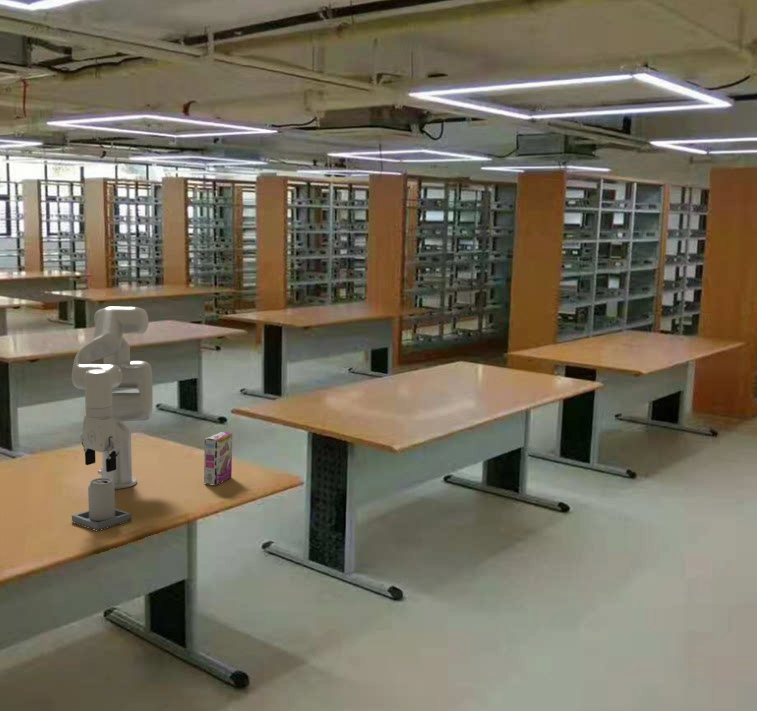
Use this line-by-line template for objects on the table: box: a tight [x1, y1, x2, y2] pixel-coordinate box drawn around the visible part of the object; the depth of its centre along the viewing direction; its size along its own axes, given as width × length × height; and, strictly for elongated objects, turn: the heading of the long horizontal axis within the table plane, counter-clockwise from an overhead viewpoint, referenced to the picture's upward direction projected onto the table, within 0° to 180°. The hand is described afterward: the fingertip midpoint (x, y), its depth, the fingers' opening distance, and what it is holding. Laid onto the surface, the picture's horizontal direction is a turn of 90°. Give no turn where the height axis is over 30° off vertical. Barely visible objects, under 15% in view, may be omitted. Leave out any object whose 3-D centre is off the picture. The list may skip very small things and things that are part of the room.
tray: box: [71, 507, 132, 532], centre depth 249 cm, size 12×12×2 cm
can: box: [87, 477, 116, 522], centre depth 249 cm, size 8×8×12 cm
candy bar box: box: [203, 431, 233, 486], centre depth 290 cm, size 11×5×16 cm, turn 161°
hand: (100, 467), depth 247 cm, fingers open, 9 cm apart
